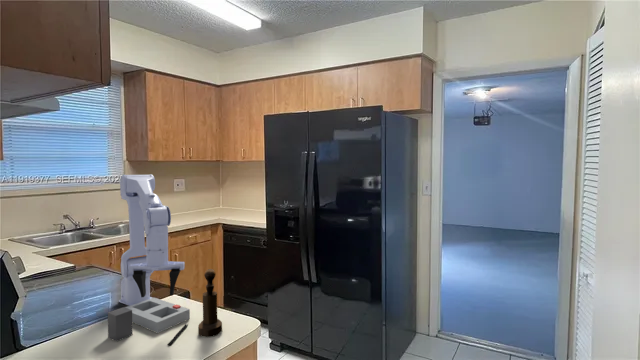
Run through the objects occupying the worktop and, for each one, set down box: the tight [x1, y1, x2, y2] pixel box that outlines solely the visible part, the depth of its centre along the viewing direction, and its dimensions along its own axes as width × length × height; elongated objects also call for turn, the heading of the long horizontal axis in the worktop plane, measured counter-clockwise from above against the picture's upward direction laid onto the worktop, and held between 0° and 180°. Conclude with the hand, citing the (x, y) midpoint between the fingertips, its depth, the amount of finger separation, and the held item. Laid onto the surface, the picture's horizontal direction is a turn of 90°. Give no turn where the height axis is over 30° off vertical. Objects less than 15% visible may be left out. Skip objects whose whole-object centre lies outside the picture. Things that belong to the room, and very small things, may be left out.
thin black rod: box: [167, 323, 189, 347], centre depth 100 cm, size 12×1×1 cm, turn 179°
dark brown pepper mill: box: [197, 268, 223, 338], centre depth 101 cm, size 7×6×18 cm
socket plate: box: [124, 297, 191, 333], centre depth 110 cm, size 18×11×4 cm, turn 59°
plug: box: [107, 306, 133, 342], centre depth 99 cm, size 4×4×7 cm
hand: (157, 295), depth 103 cm, fingers open, 7 cm apart
